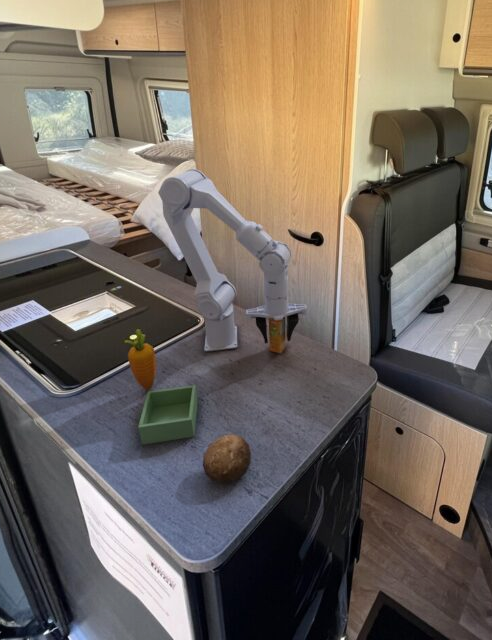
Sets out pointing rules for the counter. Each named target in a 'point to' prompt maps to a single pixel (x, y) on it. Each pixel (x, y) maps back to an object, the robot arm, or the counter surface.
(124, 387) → the counter surface
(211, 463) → the brown oval lump
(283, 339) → the supplement box
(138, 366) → the carrot
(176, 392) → the bin
